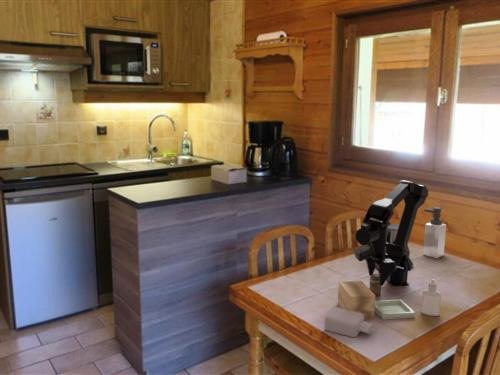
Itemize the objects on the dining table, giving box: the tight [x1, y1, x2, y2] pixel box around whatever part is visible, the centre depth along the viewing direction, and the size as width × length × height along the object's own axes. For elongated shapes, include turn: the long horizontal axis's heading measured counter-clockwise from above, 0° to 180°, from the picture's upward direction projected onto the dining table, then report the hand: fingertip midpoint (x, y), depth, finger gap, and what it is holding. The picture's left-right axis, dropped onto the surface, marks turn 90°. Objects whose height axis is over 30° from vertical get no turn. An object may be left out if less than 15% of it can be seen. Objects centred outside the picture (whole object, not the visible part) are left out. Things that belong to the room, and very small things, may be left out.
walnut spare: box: [369, 273, 382, 297], centre depth 166 cm, size 4×4×7 cm
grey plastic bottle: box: [324, 306, 380, 338], centre depth 140 cm, size 5×9×15 cm
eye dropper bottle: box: [420, 278, 442, 317], centre depth 151 cm, size 4×6×12 cm
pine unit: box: [337, 280, 376, 320], centre depth 153 cm, size 8×12×8 cm, turn 8°
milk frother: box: [384, 223, 399, 259], centre depth 199 cm, size 14×16×15 cm
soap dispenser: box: [422, 206, 447, 259], centre depth 208 cm, size 6×9×22 cm
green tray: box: [374, 298, 416, 321], centre depth 153 cm, size 11×10×2 cm
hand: (375, 280), depth 166 cm, fingers open, 9 cm apart
